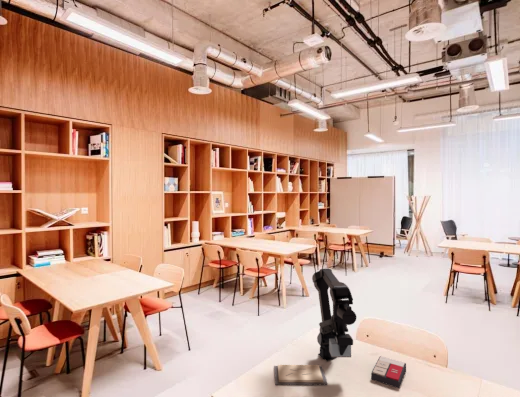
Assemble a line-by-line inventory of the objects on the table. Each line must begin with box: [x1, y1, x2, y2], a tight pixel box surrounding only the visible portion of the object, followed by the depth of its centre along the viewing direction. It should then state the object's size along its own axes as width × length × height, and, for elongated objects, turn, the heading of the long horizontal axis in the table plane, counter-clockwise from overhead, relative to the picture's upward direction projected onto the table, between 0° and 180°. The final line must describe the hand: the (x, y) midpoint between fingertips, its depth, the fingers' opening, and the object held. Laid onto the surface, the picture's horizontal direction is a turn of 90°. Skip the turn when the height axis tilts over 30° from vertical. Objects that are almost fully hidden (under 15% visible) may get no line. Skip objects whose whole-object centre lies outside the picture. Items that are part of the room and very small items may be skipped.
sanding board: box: [273, 364, 329, 386], centre depth 133 cm, size 21×13×2 cm, turn 89°
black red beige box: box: [370, 355, 407, 389], centre depth 133 cm, size 11×4×15 cm
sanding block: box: [329, 339, 352, 358], centre depth 132 cm, size 8×5×6 cm, turn 89°
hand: (339, 351), depth 133 cm, fingers closed on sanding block, 5 cm apart
